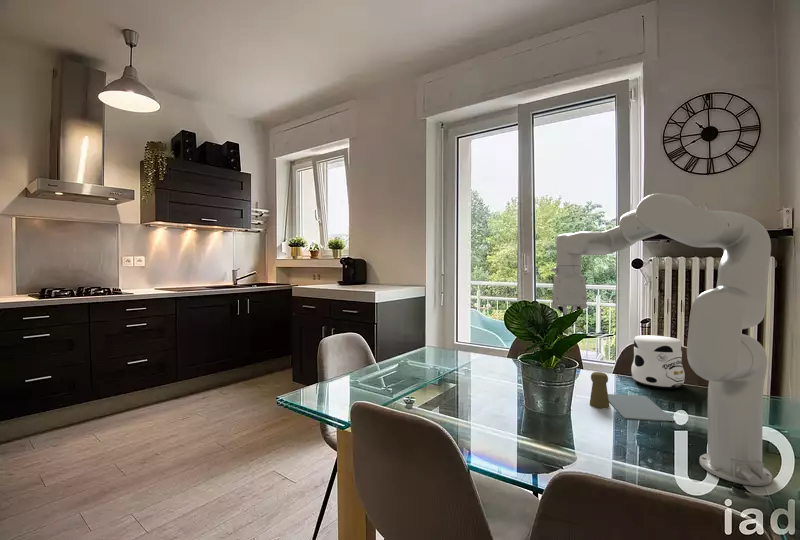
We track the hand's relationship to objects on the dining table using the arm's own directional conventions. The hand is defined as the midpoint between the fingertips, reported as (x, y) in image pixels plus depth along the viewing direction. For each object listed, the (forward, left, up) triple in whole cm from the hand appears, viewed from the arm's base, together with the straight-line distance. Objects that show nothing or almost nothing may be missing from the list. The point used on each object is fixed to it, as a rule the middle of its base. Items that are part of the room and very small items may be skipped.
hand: (569, 325), depth 130 cm
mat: (+3, -21, -27) cm, 34 cm away
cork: (+3, -10, -27) cm, 29 cm away
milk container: (+30, -38, -27) cm, 56 cm away
